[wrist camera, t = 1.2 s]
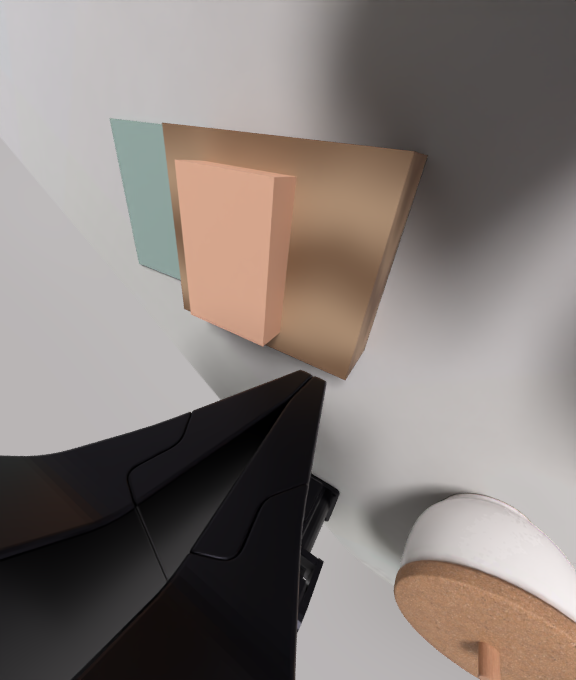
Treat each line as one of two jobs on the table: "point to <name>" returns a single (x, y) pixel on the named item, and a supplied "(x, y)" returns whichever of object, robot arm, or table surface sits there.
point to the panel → (147, 193)
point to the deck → (318, 231)
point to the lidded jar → (489, 591)
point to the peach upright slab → (236, 245)
